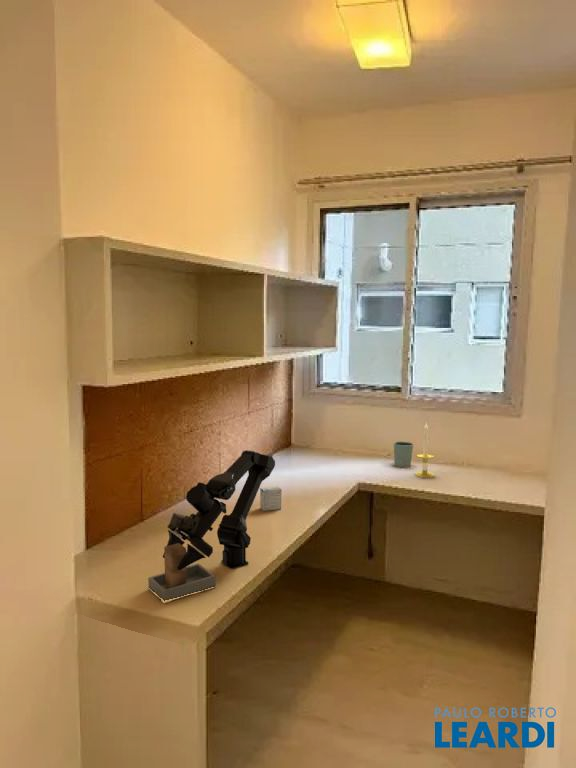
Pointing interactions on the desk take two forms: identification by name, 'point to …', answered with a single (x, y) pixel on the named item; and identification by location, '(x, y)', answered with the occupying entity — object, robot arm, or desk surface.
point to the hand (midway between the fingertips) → (170, 563)
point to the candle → (425, 456)
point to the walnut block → (174, 565)
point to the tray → (195, 582)
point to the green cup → (403, 454)
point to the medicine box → (270, 498)
